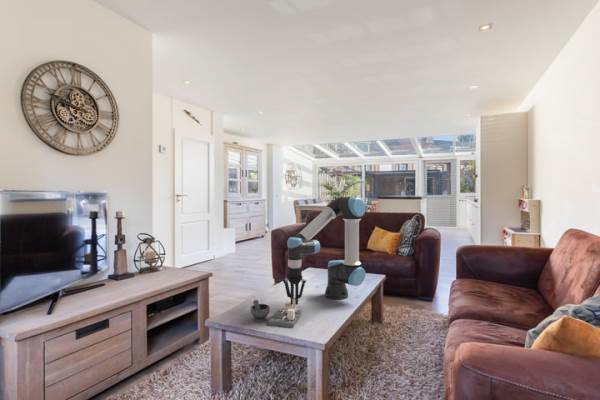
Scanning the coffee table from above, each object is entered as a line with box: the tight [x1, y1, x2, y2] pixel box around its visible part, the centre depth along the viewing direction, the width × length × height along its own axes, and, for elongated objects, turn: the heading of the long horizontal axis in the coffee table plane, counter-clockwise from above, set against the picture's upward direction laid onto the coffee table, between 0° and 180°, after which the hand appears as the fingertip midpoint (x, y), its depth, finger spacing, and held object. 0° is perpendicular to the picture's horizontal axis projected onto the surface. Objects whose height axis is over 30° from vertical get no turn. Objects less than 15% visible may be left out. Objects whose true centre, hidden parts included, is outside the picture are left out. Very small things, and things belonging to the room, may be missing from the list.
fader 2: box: [287, 308, 295, 320], centre depth 163 cm, size 3×3×5 cm
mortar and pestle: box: [250, 299, 270, 323], centre depth 166 cm, size 11×9×12 cm
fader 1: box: [284, 301, 293, 313], centre depth 172 cm, size 3×3×5 cm
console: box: [268, 308, 302, 328], centre depth 168 cm, size 13×18×2 cm
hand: (294, 310), depth 172 cm, fingers closed
